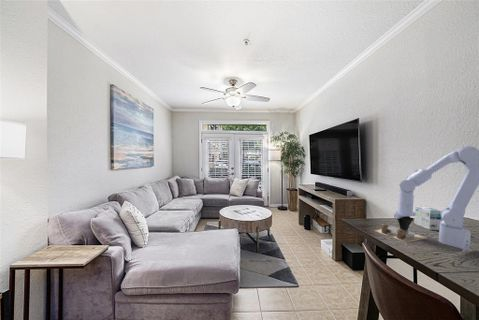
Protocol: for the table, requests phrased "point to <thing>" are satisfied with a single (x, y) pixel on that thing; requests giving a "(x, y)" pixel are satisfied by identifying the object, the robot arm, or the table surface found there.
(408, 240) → the board
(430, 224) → the light bulb box
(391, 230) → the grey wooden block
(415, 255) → the table surface
